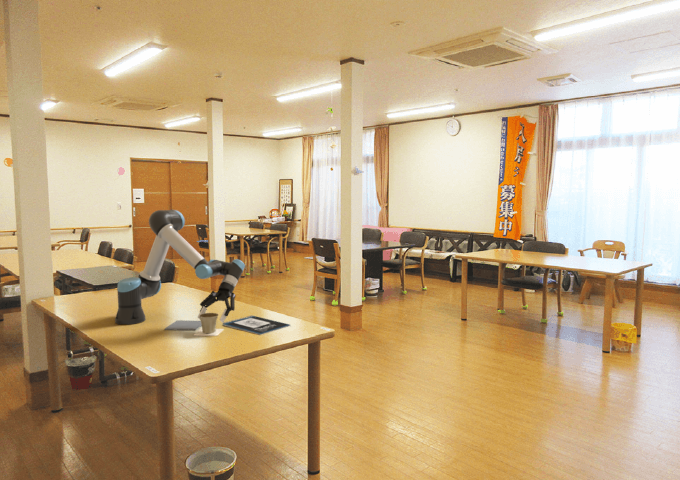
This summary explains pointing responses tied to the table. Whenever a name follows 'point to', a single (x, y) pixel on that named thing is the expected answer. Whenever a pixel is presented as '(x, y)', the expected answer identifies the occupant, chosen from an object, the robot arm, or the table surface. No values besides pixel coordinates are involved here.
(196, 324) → the rubber mat
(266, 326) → the sketchbook
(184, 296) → the table surface
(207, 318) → the flower pot
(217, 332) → the letter tile
